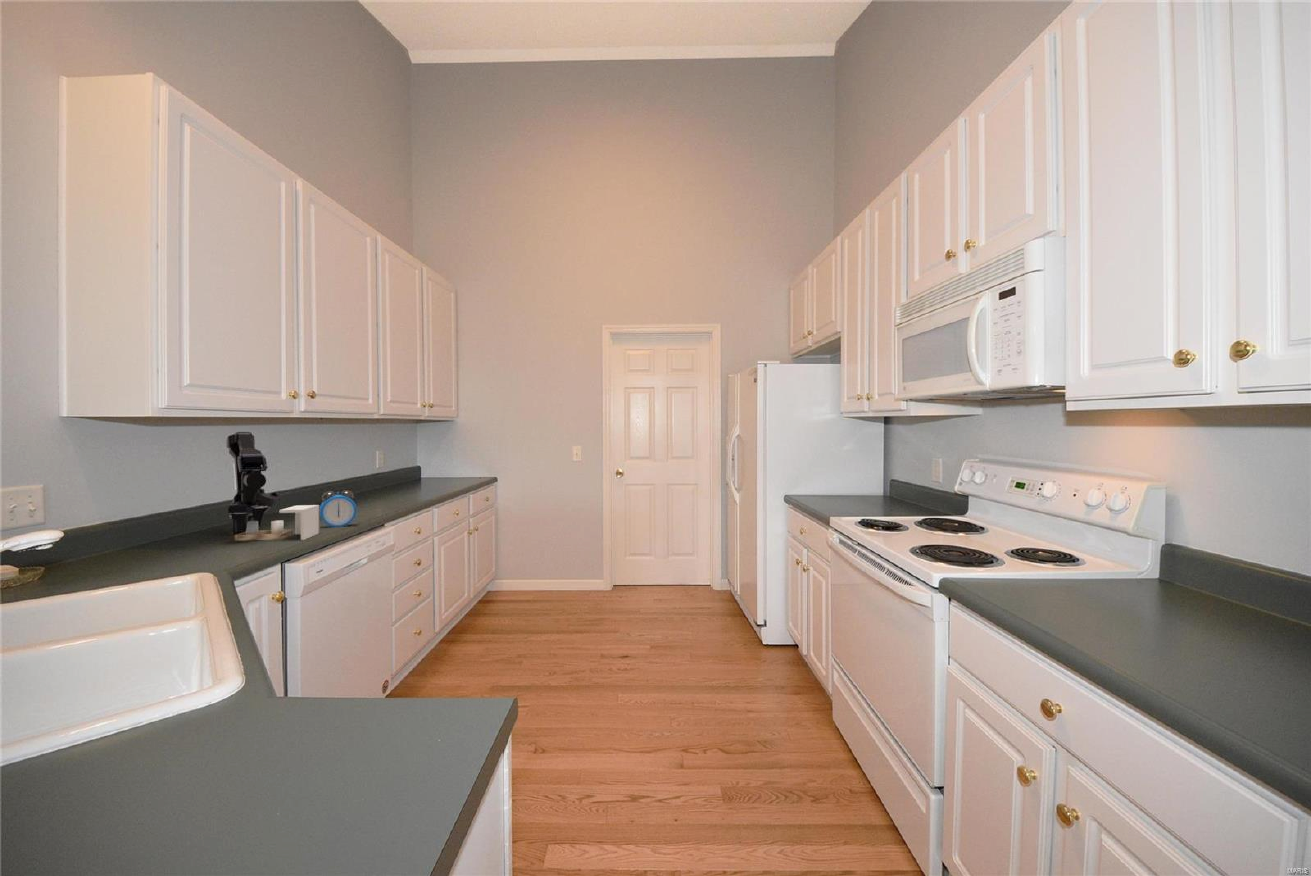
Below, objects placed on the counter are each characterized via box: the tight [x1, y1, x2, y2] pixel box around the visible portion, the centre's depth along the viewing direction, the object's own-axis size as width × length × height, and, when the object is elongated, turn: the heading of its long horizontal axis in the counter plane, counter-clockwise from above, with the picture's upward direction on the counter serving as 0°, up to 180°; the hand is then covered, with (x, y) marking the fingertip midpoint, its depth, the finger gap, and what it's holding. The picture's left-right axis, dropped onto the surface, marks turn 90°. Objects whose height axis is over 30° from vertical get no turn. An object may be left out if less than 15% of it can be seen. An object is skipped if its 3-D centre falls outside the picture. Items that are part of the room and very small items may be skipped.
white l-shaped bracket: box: [279, 504, 320, 541], centre depth 200 cm, size 8×12×12 cm, turn 10°
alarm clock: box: [319, 490, 358, 528], centre depth 223 cm, size 13×6×15 cm, turn 126°
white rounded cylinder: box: [270, 519, 285, 534], centre depth 198 cm, size 4×4×6 cm
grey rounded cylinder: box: [245, 521, 259, 535], centre depth 197 cm, size 4×4×6 cm
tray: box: [234, 529, 294, 541], centre depth 198 cm, size 15×9×2 cm, turn 100°
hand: (251, 529), depth 197 cm, fingers open, 9 cm apart
